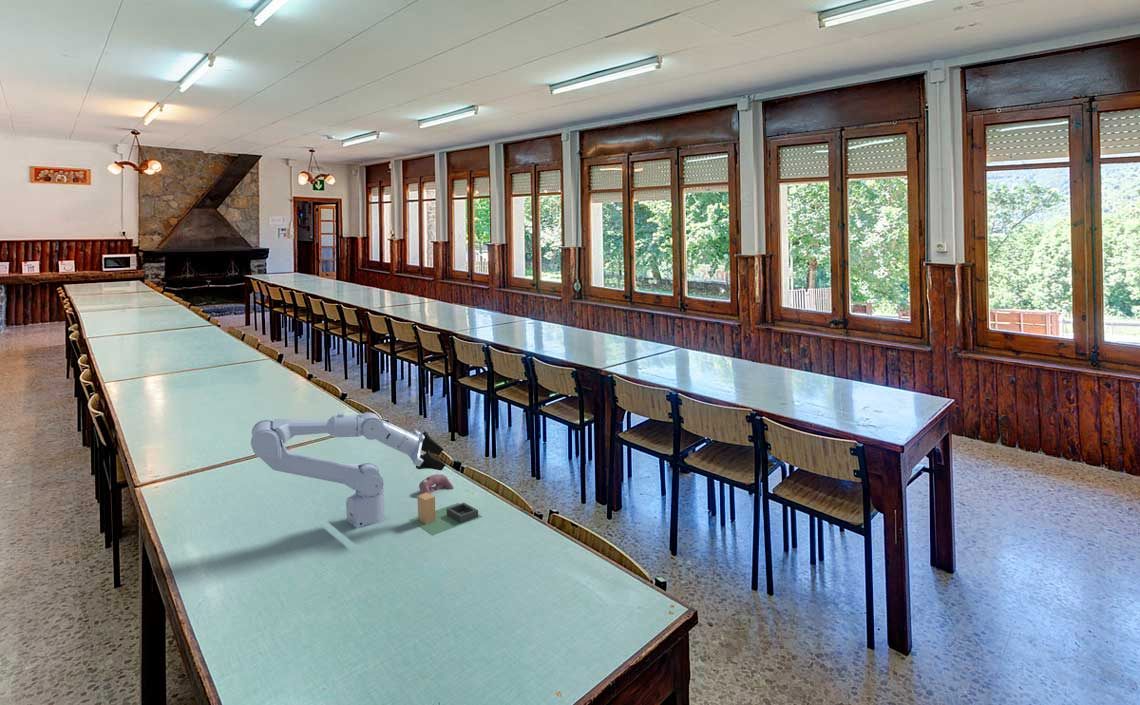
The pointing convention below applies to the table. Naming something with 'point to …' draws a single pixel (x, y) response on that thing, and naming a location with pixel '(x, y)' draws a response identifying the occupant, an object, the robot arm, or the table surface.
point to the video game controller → (435, 479)
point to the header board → (449, 518)
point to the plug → (426, 508)
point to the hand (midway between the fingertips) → (442, 459)
